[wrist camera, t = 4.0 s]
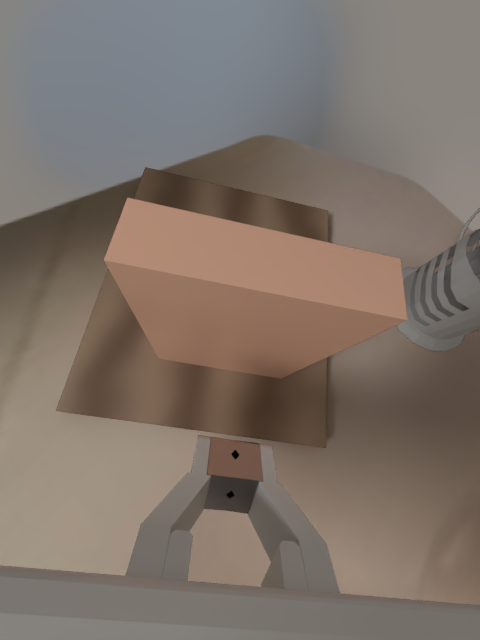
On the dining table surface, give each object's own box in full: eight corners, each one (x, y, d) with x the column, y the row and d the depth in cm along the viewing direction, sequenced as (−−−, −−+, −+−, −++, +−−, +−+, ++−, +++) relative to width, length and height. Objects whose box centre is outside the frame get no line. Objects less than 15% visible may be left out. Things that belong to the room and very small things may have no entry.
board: (63, 411, 20) (55, 411, 18) (147, 177, 28) (145, 167, 27) (319, 446, 22) (326, 447, 21) (323, 218, 31) (328, 210, 29)
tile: (159, 358, 21) (103, 260, 8) (166, 328, 22) (128, 196, 9) (280, 378, 22) (407, 320, 9) (283, 348, 23) (400, 257, 10)
